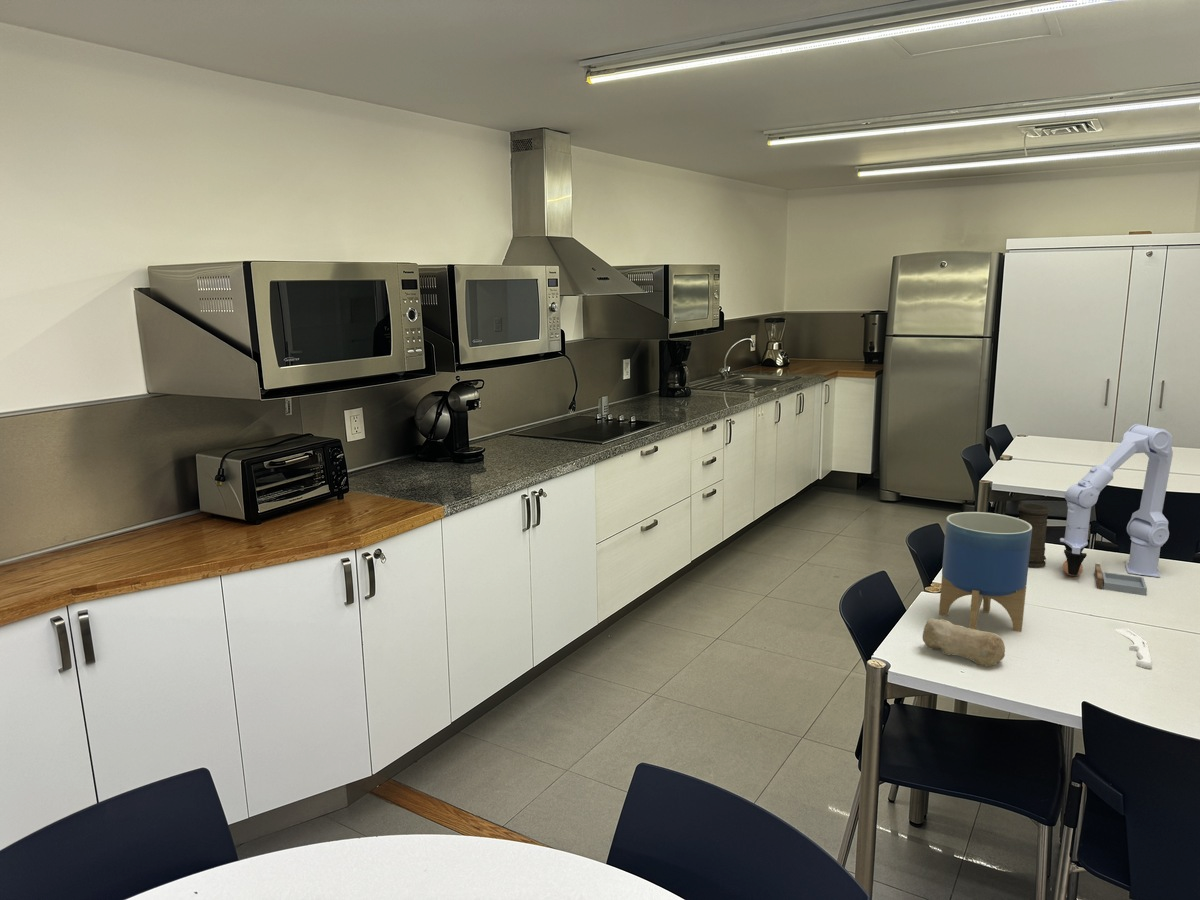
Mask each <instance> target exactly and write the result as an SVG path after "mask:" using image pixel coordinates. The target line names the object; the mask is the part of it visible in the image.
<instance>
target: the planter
mask: <svg viewBox="0 0 1200 900" xmlns="http://www.w3.org/2000/svg"><path fill="white" fill-rule="evenodd" d="M1018 518H1019V517H1014V516H1010V515H1006V514H999V513H993V512H983V511H982V512H981V511H963V512H956V513H952V514H951V513H950V514H949V515H948V516H946V519H945V528H944V529H945V530H944V543H943V544H944V545H943V555H942V566H941V567H942V568H941V584H940V585H941V586H940V599H939V608H938V609H939V610H938V615H939V616H944V617H947V616H948V615H949V610H950V607H951V606H952V604H953V603H954V602H955V601H956V600H958V599H960V598H962V597H966V596H971V600H970V612H969V621H968V622H969V623H968V624H969V625H968V628H970V629H975V630H977V625H978V619H979V614H980V609H981V606H982V613H986V614H989V613H990V610H991V602H992V600H993V601H995V602H996V603H998V604H999V605H1001V606H1002V608H1004V609H1005V610H1006V612H1007V613H1008V615H1009V617H1010V619H1011V623H1012V631H1013V632H1018V633H1021V632H1022V631H1023V625H1024V624H1023V621H1024V613H1025V605H1026V593H1027V583H1028V574H1029V573H1028V571H1029V567H1028V565H1029V555H1030V545H1031V535H1032V526H1031V525H1030V524H1029V523H1028V522H1026V521H1023V520H1021V519H1018ZM982 603H983V605H982Z"/></svg>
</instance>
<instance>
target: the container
mask: <svg viewBox="0 0 1200 900" xmlns="http://www.w3.org/2000/svg"><path fill="white" fill-rule="evenodd" d="M1017 507H1018V517H1017V518H1018V519H1021V520H1023V521H1026V522H1028V523H1029V524H1030V525H1031V526H1032V535H1031V545H1030V555H1029V565H1028V569H1032V568H1033V569H1040V568H1045V566H1046V563H1047V562H1046V561H1045V560H1046V559H1047V558H1046V556H1045V552H1046V535H1047V527H1048V526H1047V525H1048V516H1049V512H1050V508H1049V507H1048V506H1046V505H1042V504H1036V503H1021V504H1019V505H1018V506H1017Z"/></svg>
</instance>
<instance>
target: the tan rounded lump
mask: <svg viewBox="0 0 1200 900" xmlns="http://www.w3.org/2000/svg"><path fill="white" fill-rule="evenodd" d="M921 638H922V641H923V643H924V644H925V647H927V648H928V649H931V650H935V651H936V650H942V653H944V654H945V655H948V656H954V655H955V656H959V657H963V658H966V659H968V660H971V661H973V662H974V663H975V664H977V665H978V666H980V667H992V666H994V665H996V664H999V663H1001V661H1002V660H1004V658H1005V652H1006V646H1005V642H1004V640H1003V638H1002V637H1000V636H999V635H998V634H997V633H994V632H989V631H985V630H984V631H982V630H979V629H976V630H975V629H970V628H969V627H965V626H963V625H960V624H954V623H952V622H951V621H949V620H946V619H943V618H940V619H937V618H930V619H928V620H926V623H925V625H924V627H923V632H922V637H921Z"/></svg>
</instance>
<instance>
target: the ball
mask: <svg viewBox="0 0 1200 900" xmlns="http://www.w3.org/2000/svg"><path fill="white" fill-rule="evenodd" d="M1083 567H1084V566H1083V563H1081V566H1080V569H1079V572H1078V574H1077V575H1069V573H1068V563H1067V559H1066V560H1065V561H1064V562H1063V565H1062V569H1063V571H1064V573H1065V574H1066V575H1069V576H1072V577H1076V576H1079V575H1080V574H1081V573H1082V572H1083V569H1084V568H1083Z"/></svg>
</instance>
